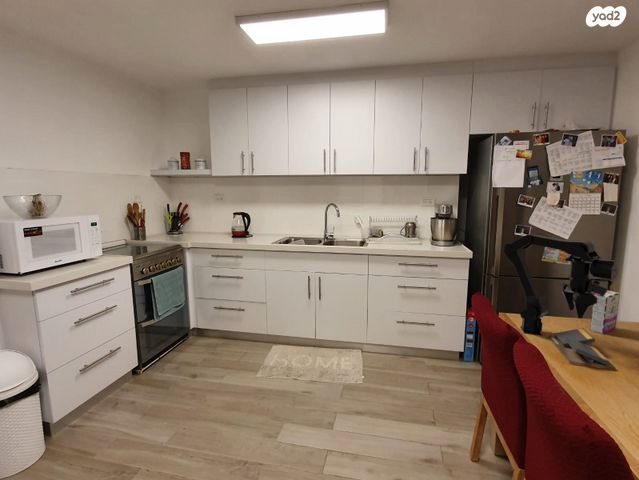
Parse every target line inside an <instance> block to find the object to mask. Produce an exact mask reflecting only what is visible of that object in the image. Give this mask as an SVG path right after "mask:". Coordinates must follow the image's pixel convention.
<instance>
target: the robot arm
mask: <svg viewBox="0 0 639 480" xmlns="http://www.w3.org/2000/svg"><path fill="white" fill-rule="evenodd" d="M533 245H534V246H539V247H543V248H544V247H545V248H548V249H553V250H558V251H562V252H564V253H566V254H568V255H569V256H568V257H566V258H565V259H564V261H566V262H571V263H570V270H569V271H570V274H568V275H567V278H568V279H569V282H566V281H563V282H562V283H561V284H560V290H561V292H562V294H563V295H562V296H563V297H564V300H565V301H566V304H567V307H568V309H569V311H574V309H575V312H576V316H577V318H578V319H583V317H584V315H585V313H586V312H587V310H588V308H589V307H590V306H593V305H594V304H597V299H598V298H597V297H596V296H594V294H600V295H601V296H604V295H605V293H606V292H607V291H609V288H607V287H605V286H604V285H601V283H600V281H599V280H596V279H591V278H590V276H591V275H592V277H594V278H599V279H605V280H610V281H614V280H616V278H617V276H618V272H619V269H618V264H617V260H612V259H610V260H609V259H608V260H607V259H601V257H600V255H599V254H598V252H597V251H596V250H595V249H596V248H595V245H594V244H593V242H591V241H588V240H565V239H559V238H556V237H555V238H554V237H550V236H544V235H539V234H535V233H528V234H525V235H524V236H522V237H521V238H519V239H517V240H514V241H513V242H511V243H507V244H505V245H504V247H503V248H502V249H503V254H504V255H505V257H506V259H508V261H510V262H511V264H512V265H513V266H514V269H515V272H516V274H517V277H518V280H519V282H520V285H521V287H522V289H523V292H524V295H525V307H526V309H524V310H522V311H520V312H519V315H520V318H521V320H522V321H521V326H520V329H521V331H522V332H523V333H524V334H530V335H539V336H541V335H542V331H543V324H544V323H543V322H542V318H543V317H544V316H545V315H547V314H549V312H550V307H551V304H550V303H549V301H548V298H547V296H546V295H545V296H542V295H541V294H540V292H539V291H538V289H537V287H536V283H535V282H534V279H533V277H532V274H531V272H530V269H529V267H528V264H527V261H526V259H527V256H526V255H527V254H526V250H527V249H529V248H530V247H531V246H533ZM593 293H594V294H593Z"/></svg>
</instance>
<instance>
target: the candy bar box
mask: <svg viewBox="0 0 639 480" xmlns="http://www.w3.org/2000/svg"><path fill="white" fill-rule="evenodd" d="M620 293H621V292H617V291H611V290H607V292H606V293H605V295H604V296H601V295H600V294H597V293H594V294H593V295H594V296H596V297H597V298H598V299H597V304H594V305H592V311H591V321H590V329H589V330H590V331H592V332H595V333H598V334H601V335H604V334H606V333H609V332H612V331H614V330H616V327H617V318H618V311H619V302H620Z"/></svg>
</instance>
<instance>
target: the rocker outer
mask: <svg viewBox="0 0 639 480" xmlns="http://www.w3.org/2000/svg"><path fill="white" fill-rule="evenodd" d="M565 341H566V342H567V343H568V344H569V345H570V346H571V347H572V349H573V350H574V351H575V352H577V353H579V354H582V355H584V356H586V357H589V358H591V359H594V360H596V361H598V362H601V363H603V364H606V365H608V364H609V361H610V360H609V359H608V358H607V359H608V360H609V361H608V360H607V359H606V358H605V357H606V356H605V355H604V354H602V352H600V350H598V349H597V348H596V347H595V348H593V347H591V346H588V345H586V344H583V343H581V342H579V341H576V340H574V339H571V338H569V337H566V339H565ZM603 355H604V356H605V357H604V356H603Z"/></svg>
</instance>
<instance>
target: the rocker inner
mask: <svg viewBox="0 0 639 480" xmlns="http://www.w3.org/2000/svg"><path fill="white" fill-rule="evenodd" d="M554 336H556V338H557V339H558V340H559V341H560V342H561V344H562V345H563V346H564V347H569V346H570V345H569V344H568V343H567V342H566V341H565V339H566V337H569V338H571V339H574V340H576V341H579V342H581V343H583V344H587V343H591V344H592V343H596V339H595V337H594V336H592V335H591V334H590V333H589V332H588V331H587V330H586V329H585V328H584V327H582V328H576V329H570V330H565V331H559V332H554Z"/></svg>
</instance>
